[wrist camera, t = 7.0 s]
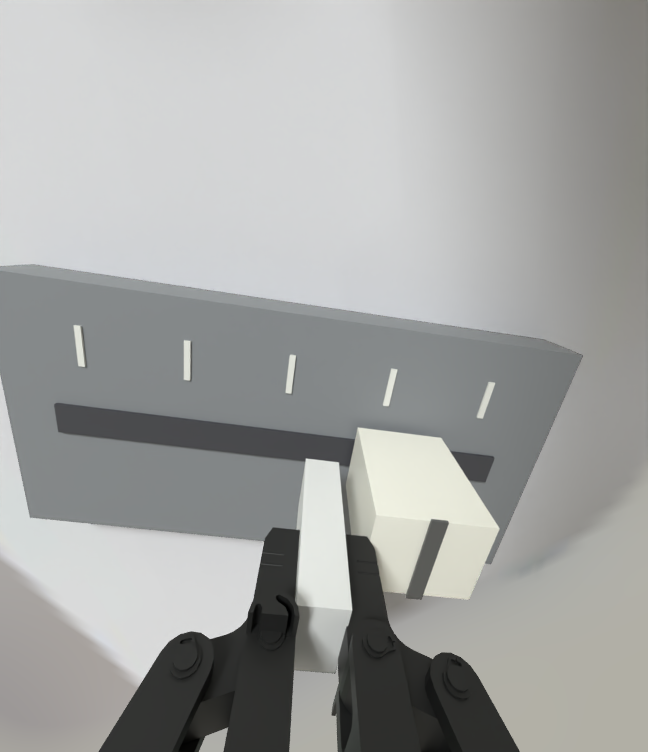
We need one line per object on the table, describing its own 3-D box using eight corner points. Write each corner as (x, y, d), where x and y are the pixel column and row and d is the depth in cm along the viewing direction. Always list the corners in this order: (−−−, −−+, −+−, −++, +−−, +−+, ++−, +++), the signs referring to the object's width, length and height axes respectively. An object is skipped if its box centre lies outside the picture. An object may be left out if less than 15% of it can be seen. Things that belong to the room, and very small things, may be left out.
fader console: (33, 264, 17) (-27, 267, 14) (544, 339, 19) (586, 356, 16) (66, 483, 22) (27, 520, 19) (470, 527, 24) (492, 566, 21)
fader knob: (358, 425, 17) (377, 515, 11) (441, 436, 17) (502, 528, 12) (345, 486, 18) (357, 593, 13) (423, 495, 19) (469, 604, 13)
